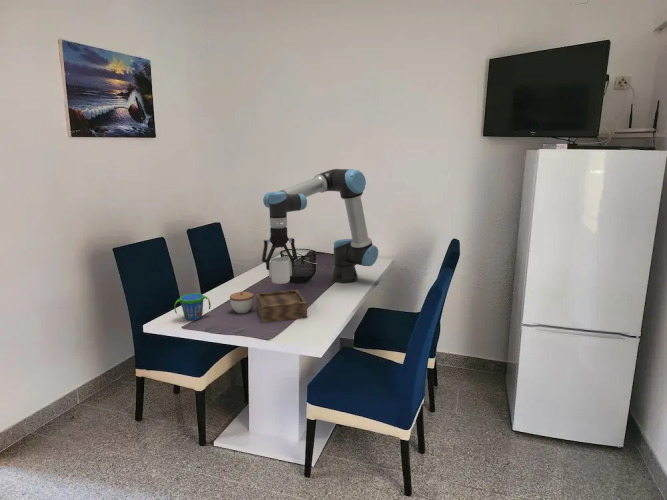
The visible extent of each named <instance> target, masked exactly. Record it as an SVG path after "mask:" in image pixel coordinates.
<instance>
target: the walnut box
mask: <svg viewBox="0 0 667 500" xmlns="http://www.w3.org/2000/svg"><path fill="white" fill-rule="evenodd" d="M255 297H256V309H257V312H258V314H259V318H260V320H261V322H262V323H272V322H273V323H274V322H279V321H290V320H298V319H307V318H308V301H307V300H306V298H304V296H303V295H302V294H301V292H300V291H299V289H291V290H290V289H289V290H281V291H270V292H260V293H258V292H257V293H256V296H255Z"/></svg>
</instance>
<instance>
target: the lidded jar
mask: <svg viewBox="0 0 667 500" xmlns="http://www.w3.org/2000/svg"><path fill="white" fill-rule="evenodd" d="M229 301H230V306H231V308H232V309H233V310H234V311H235V312H236V313H237V314H245V313H248V312H250V310H251V309H252V307H253V305H254V293H252V292H249V291H238V292H234V293H233V292H232V293H231V294H230V295H229Z"/></svg>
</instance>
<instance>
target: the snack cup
mask: <svg viewBox="0 0 667 500" xmlns="http://www.w3.org/2000/svg"><path fill="white" fill-rule="evenodd" d="M205 299H206V300H207V301H208V310H211V307H212V305H211V301H210V298H209V297H208V296H207V295H204V294H202V293H195V292H194V293H186V294H183V295H182V296H180V297H179V298H177V299H176V301H175V302H174V305H173V307H174V308H173V309H174V313H175V314H177V309H176V305H177V304H178V303H180V305H181V308H182V311H183V315H184V319H185V320H186V321H191V322H192V321H197V320H200V319H202V317H203V314H204V313H203V312H204V309H203V308H204V300H205Z"/></svg>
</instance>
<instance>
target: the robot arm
mask: <svg viewBox="0 0 667 500" xmlns="http://www.w3.org/2000/svg"><path fill="white" fill-rule="evenodd" d="M366 185H367V181H366V176H365V175H364V173H363V172H362V171H360V170H358V169H353V168H349V169H348V168H343V169H342V168H333V169H330V170H327V171H324V172H320V173H319V174H316V175H314V177H313V178H311V179H308V180H305V181H303V182H300V183H297V184H295V185H292V186H289V187H287V188H284V189H282V190H278V191H271V192H266V193H265V194H264V195H263V199H262V201H263V205H264V207H266V208H267V209H269V226H270V228H269V231H270V232H269V233H270V234H269V235H270V237H269V239H263V249H262V256H261V261H262V262H263V263H265V267H266V268H265V269H266V270H267V271H268V277H269V278H271V259H272V257H273V254H274V253H275V250H276V249H277V248H282V249H283V248H284V250H285V253H286V255H287V256H288V258H289V268H290V277H292V276H293V273H292V270H293V269H295V268H294V267H295V266H294V265H295V263H294V262H295V261H297V260H298V259H299V258H298V254H297V250H296V245H295V241H296V240H295V238H294V237H291V238H290V237H289V236H288V227H287V226H288V219H287V216H288V213H291V212H298V211H299V212H301V211H302V210H305V209H306V208H307V206H308V199H307V198H308V197H310V196H312V195H314V194H318V193H322V194H323V193H327V192H339V194H340V198H341V199H342V200H344V205H345V210H346V215H347V220H348V224H349V228H350V234H351V238H344V239H343V238H342V239H337V240H336V241H334V242H333V263H334V264H333V268H332V271H331V272H332V273H331V277H330V279H331V281H332V282H335V283H339V282H340V284H341V283H343V284H345V283H346V284H348V282H349V283H355V282H356V280H357V281H358V279H359V275H358V273H357V268H356V266H355V265H358V266H362V267H372V266H373V265H374V264H375V263H376V262H377V259H378V257H379V249H378V247H377V246H376V245H375V244H374V245H373V240H372V239H371V238H370V237H369V234H368V229H367V224H366V218H365V217H366V216H365V213H364V207H363V201H362V195H364V191H365V190H366ZM288 242H289V243H290V247H291V251H292V254H291V252H290V249H289V248H288V246H287V243H288ZM270 243H271V244H272V245H271V247H270V250H269V253H268V248H269V247H268V246H269V244H270ZM267 253H268V254H267Z"/></svg>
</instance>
